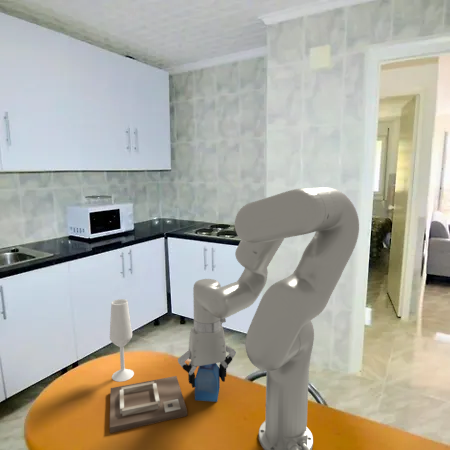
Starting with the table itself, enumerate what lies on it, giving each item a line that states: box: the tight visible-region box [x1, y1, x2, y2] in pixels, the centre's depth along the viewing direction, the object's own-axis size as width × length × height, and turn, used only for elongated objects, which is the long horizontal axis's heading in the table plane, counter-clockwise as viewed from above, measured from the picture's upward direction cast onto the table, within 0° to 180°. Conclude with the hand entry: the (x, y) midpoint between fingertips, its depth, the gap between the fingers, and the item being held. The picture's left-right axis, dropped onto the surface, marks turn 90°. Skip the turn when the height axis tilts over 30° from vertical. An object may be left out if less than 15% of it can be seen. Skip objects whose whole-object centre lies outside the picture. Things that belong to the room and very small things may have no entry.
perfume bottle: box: [194, 363, 221, 402], centre depth 94 cm, size 6×6×12 cm
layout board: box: [109, 375, 188, 434], centre depth 90 cm, size 16×19×3 cm
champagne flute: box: [109, 298, 135, 383], centre depth 102 cm, size 7×7×24 cm
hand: (207, 381), depth 95 cm, fingers closed on perfume bottle, 8 cm apart
